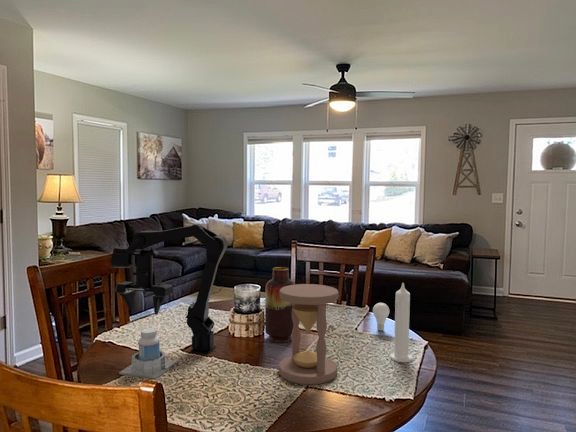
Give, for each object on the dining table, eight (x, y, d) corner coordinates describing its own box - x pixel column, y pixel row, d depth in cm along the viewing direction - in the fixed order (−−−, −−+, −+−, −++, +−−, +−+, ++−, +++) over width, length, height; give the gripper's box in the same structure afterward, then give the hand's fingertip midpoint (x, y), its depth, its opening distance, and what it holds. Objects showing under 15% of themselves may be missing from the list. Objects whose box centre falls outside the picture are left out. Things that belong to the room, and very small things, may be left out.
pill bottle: (163, 363, 138) (163, 327, 137) (153, 371, 132) (153, 334, 131) (145, 361, 139) (145, 326, 138) (134, 369, 133) (134, 332, 132)
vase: (268, 345, 156) (269, 271, 154) (262, 335, 167) (262, 266, 165) (299, 342, 159) (299, 270, 157) (290, 332, 170) (291, 265, 168)
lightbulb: (371, 332, 171) (372, 304, 171) (373, 327, 177) (373, 300, 177) (388, 334, 169) (389, 305, 169) (389, 329, 175) (390, 301, 175)
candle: (413, 363, 141) (415, 285, 139) (390, 361, 142) (392, 284, 141) (411, 355, 148) (413, 281, 146) (389, 353, 149) (391, 279, 148)
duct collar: (176, 363, 139) (176, 350, 139) (155, 379, 128) (155, 365, 128) (142, 359, 142) (142, 346, 142) (119, 374, 131) (119, 360, 131)
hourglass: (271, 364, 139) (271, 285, 137) (321, 357, 145) (322, 282, 143) (291, 388, 122) (292, 299, 121) (347, 379, 129) (349, 294, 127)
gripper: (180, 265, 156) (180, 309, 157) (133, 262, 161) (134, 305, 162) (163, 271, 145) (164, 318, 146) (114, 268, 150) (115, 313, 151)
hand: (144, 313), depth 152 cm, fingers open, 9 cm apart
